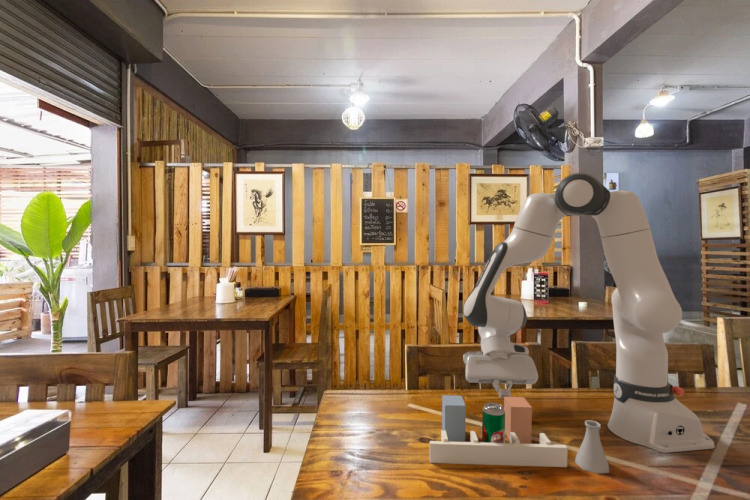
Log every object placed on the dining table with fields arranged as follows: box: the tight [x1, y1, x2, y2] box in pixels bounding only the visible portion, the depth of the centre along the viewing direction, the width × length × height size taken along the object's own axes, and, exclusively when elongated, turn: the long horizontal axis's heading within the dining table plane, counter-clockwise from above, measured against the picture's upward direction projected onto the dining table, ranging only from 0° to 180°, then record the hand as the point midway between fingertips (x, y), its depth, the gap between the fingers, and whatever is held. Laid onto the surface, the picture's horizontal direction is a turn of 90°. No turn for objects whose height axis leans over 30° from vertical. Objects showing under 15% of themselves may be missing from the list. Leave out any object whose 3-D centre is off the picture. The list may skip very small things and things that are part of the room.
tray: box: [429, 429, 568, 468], centre depth 94 cm, size 30×17×6 cm, turn 87°
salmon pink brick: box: [503, 396, 533, 444], centre depth 98 cm, size 5×7×9 cm
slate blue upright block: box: [441, 394, 467, 442], centre depth 99 cm, size 5×7×9 cm
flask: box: [574, 419, 610, 475], centre depth 86 cm, size 7×7×10 cm
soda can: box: [481, 402, 506, 443], centre depth 90 cm, size 5×5×12 cm
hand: (505, 397), depth 108 cm, fingers closed
